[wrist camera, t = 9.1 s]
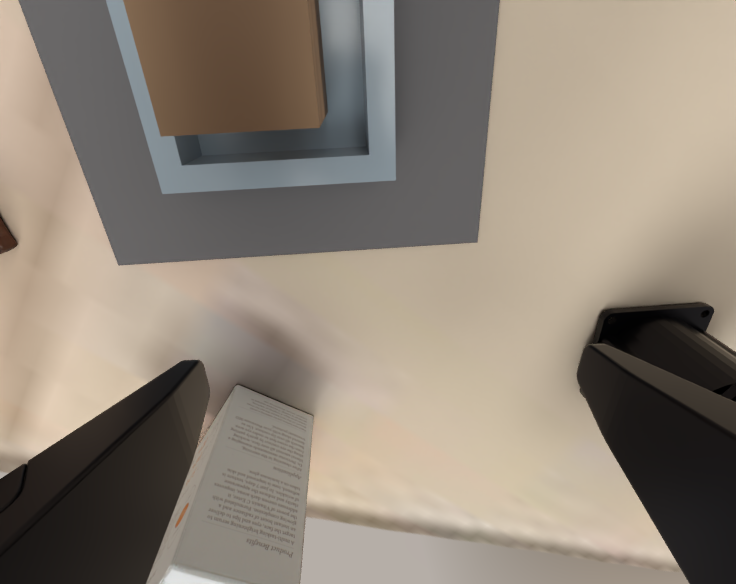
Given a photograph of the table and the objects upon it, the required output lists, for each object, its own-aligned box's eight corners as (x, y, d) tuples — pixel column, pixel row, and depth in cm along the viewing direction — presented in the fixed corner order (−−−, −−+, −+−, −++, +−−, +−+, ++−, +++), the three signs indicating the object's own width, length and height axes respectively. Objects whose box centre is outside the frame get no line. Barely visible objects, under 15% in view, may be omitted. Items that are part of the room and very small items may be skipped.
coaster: (524, -322, 12) (530, -335, 11) (475, 239, 20) (477, 242, 20) (-90, -311, 11) (-104, -324, 11) (122, 262, 20) (118, 265, 19)
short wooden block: (314, -44, 14) (292, -149, 8) (328, 112, 16) (319, 128, 10) (200, -39, 14) (83, -142, 8) (230, 117, 16) (160, 136, 10)
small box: (261, 485, 28) (222, 680, 19) (186, 459, 27) (103, 659, 17) (317, 414, 25) (302, 604, 16) (236, 380, 24) (168, 570, 14)
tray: (381, -139, 13) (391, -196, 11) (387, 166, 18) (395, 180, 15) (110, -130, 13) (51, -186, 10) (189, 177, 18) (162, 194, 15)
